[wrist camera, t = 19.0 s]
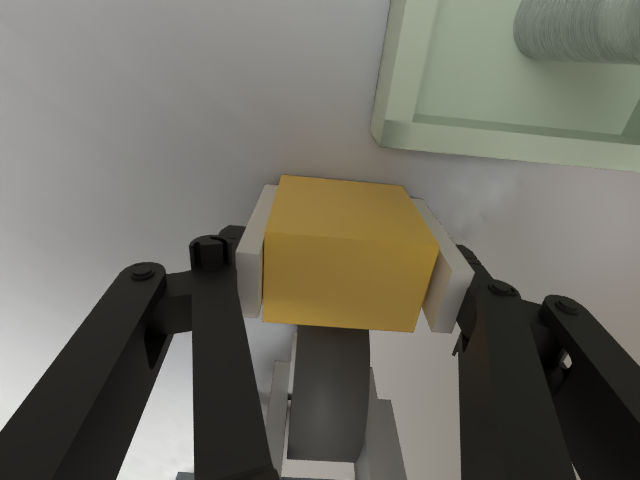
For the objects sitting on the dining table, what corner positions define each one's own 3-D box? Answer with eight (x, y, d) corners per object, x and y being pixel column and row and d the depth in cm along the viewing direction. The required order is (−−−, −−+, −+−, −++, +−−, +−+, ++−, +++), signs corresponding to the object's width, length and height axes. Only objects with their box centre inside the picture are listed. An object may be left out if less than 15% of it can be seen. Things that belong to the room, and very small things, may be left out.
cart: (228, 402, 25) (169, 634, 15) (220, 249, 19) (110, 475, 9) (390, 412, 25) (436, 641, 16) (436, 267, 19) (561, 497, 9)
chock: (281, 174, 17) (264, 231, 11) (402, 185, 17) (440, 246, 12) (278, 245, 19) (262, 321, 13) (387, 254, 19) (413, 332, 14)
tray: (422, -195, 11) (456, -274, 8) (776, -142, 11) (913, -200, 9) (369, 130, 16) (379, 146, 13) (620, 155, 16) (678, 176, 14)
